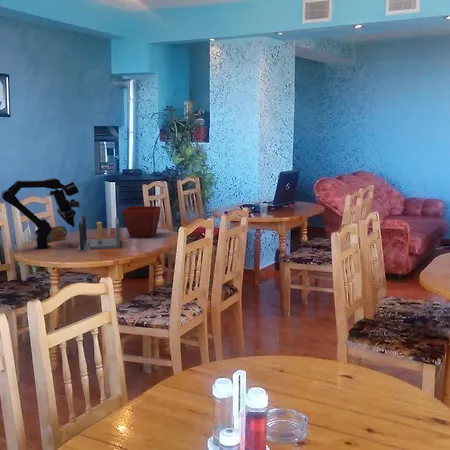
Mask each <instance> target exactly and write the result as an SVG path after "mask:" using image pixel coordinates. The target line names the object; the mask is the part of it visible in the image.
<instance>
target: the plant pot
mask: <svg viewBox="0 0 450 450" xmlns="http://www.w3.org/2000/svg"><path fill="white" fill-rule="evenodd" d="M161 208H162V207H161V206H154V205H153V206H145V205H143V206H141V205H137V206H134V205H133V206H129V207H127V208H124V209H123V210H122V211H121V213H122V217H123V220H124V224H125V227H126V229H127V232H128V235H129V237H130V238H152V237H153V236H154V235H156V233H157V230H158V226H159V224H160V223H159V221H160V216H161Z"/></svg>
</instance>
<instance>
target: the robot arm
mask: <svg viewBox="0 0 450 450" xmlns="http://www.w3.org/2000/svg"><path fill="white" fill-rule="evenodd" d="M30 188H31V189H32V188H33V189H34V188H41V189H42V188H45V189H50V190H49V191H50V192H49V193H48V195H49V196H53V197H54V200H55V202H56V203H55V204H56V206H57V210H56V213H57V214H58V215H59V216H60V217H61V219H62V220H64V222H66V224H67V225H69V226H71V227H73V228H74V227H76V226H75V219H74V217H75V216H76V209H73V208H80V201H79V200H75V199H74V198H71V199H70V200H68V199H67V197H72V196H75V195H76V194H79V188H78V187H77V185H76V184H75V182H74V181H72V182H69V183H67V184H63V183H61V181H60V179H57V178H56V177H53V178H46V179H41V180H19V179H18V180H16V181H15V182H14V183H13V184H12V185H11V186H10V187H9V188H7V189H6V190H3V191H2V192H1V199H2V200H3V201H4V202H6V203H8V204H10V205H11V206H13V207H15V208H16V209H17V210H18V211H20V213H22V215H24V216H25V217H27V219H29V221H31V222H32V223H33V224H34V225H35V227H36V228H37V230H35V231H34V235H35V236H36V246H35V247H34V249H48V248H49V247H51V245H50V244H48V243H49V242H48V240H47V237H48V235H49V233H50V232H51V230H52V228H51V227H52V226H51V223H50V222H48V221H47V220H46V219H45V218H43V217H42V218H41V219H40V218H39V217H38V216H37V215H35V214H34V213H33V212H32V211H31V210H30V209H28V208H27V206H25V205H24V204H23V203H22V202H21V201H20V200H19V199H18V197H17V196H16V195H17V194H18V193H19V191H20V190H21V189H30Z"/></svg>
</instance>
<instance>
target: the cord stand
mask: <svg viewBox="0 0 450 450" xmlns="http://www.w3.org/2000/svg"><path fill="white" fill-rule="evenodd" d="M81 219H82V220H81V222H79V223H78V230H79V234H78V235H79V243H78V246H77V249H76V252H77V253H81V252H83V253H84V252H88V248H89V246H90V238H88V237H87V234H88V233H87V217H86V215H82V216H81Z"/></svg>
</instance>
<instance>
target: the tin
mask: <svg viewBox="0 0 450 450" xmlns="http://www.w3.org/2000/svg"><path fill="white" fill-rule="evenodd" d="M51 228H52V230H51V232H50V233H49V235H48V237H47V240H48V243H54V242H59V241H63V240H65V239H66V237H67V235H68V231H67V228H66V227H65V226H63V225H56V226H51ZM53 241H54V242H53Z"/></svg>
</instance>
